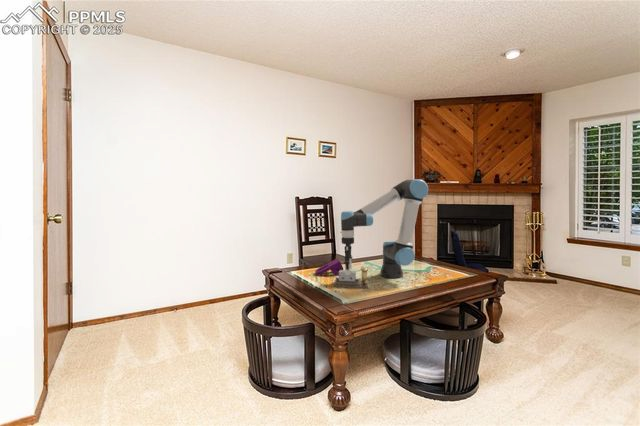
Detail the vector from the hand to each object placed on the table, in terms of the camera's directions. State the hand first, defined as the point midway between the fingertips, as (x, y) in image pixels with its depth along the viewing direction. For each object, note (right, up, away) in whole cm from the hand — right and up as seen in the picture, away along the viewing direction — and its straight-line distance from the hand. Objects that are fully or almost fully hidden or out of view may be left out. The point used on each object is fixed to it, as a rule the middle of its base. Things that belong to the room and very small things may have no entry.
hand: (348, 271), depth 199 cm
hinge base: (+2, -8, 0) cm, 8 cm away
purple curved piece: (-11, -6, +26) cm, 29 cm away
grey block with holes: (-1, -7, 0) cm, 7 cm away
